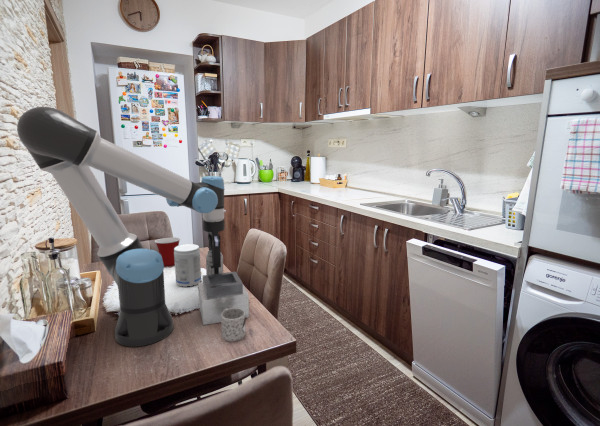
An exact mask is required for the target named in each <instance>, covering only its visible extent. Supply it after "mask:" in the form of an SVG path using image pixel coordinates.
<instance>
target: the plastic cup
mask: <svg viewBox="0 0 600 426" xmlns="http://www.w3.org/2000/svg"><path fill="white" fill-rule="evenodd" d="M180 241H181V238H180V237H163V238H158V239H155V240H154V243H155V245H156V247H157V250H158V253H160V255H161V256H162V260H163V265H164V267H173V266H175V260H174V248H175V247H177V246H179V243H180Z"/></svg>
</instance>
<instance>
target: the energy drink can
mask: <svg viewBox="0 0 600 426" xmlns="http://www.w3.org/2000/svg"><path fill="white" fill-rule="evenodd" d="M220 255H221V267H220V273H224V255H223V254H222V251H221V250H220ZM210 266H213V264H212V250H210V251H209V250H208V251H207V254H206V255H205V267H206V268H205V269H206V270H205V271H206V274H205V275H212V268H211V267H210Z"/></svg>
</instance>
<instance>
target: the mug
mask: <svg viewBox="0 0 600 426" xmlns="http://www.w3.org/2000/svg"><path fill="white" fill-rule="evenodd" d="M220 323H221V338H222V339H223V340H224V341H225V342H237V341H240V340H242V339H243V338H245V336H246V318H245V311H244V310H242V309H239V308H231V309H227V308H226V309H224V311H223V312H222V313H221V322H220Z"/></svg>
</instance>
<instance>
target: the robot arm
mask: <svg viewBox="0 0 600 426" xmlns="http://www.w3.org/2000/svg"><path fill="white" fill-rule="evenodd" d="M16 130H17V131H16V132H17V136H18V138H19V140H20V142H21V143H22V144H23V146H24V147H25V148H26V150H27V151H28V152H29V154H30V155H31V157H32V159H33V161H34V162H35V163H36V165H37V167H38V168H39V169H40V171H44V172H47V173H49V174H51V175H52V176H53V178H54V180H55V182H56V183H57V185H58V186H59V188H60V189H61V190H62V192H63V193H64V195H65V197H66V198H67V199H68V201H69V203H70V204H71V206H72V207H73V210H75V212H76V213H77V215H78V216H79V218H80V220H81V221H82V224H84V226H85V227H86V229H87V230H88V232H89V233H90V235H91V237H92V238H93V239H94V241H95V242H96V244H97V246H98V247H99V248H98V250H97V253H96V254H97V256H98V258H99V259H100V261H101V262H102V264H103V266H104V267H105V269H106V271H107V273H108V274H109V275H110V276H111V277H112V279H113V281H114V283H115V285H117V290H118V298H119V299H118V300H119V309H120V310H119V315H118V318H117V320H116V321H117V323H116V326H115V328H114V329H115V330H114V336H115V337H114V338H115V341H116V343H117V344H119V345H121V346H124V347H132V348H135V347H143V346H147V345H152V344H154V343H157V342H160V341H161V340H163V339H165V338H166V337H168V336H169V335H170V334H172V332H173V329H174V320H173V316H172V315H171V313H170V310H169V308H168V305H167V303H166V294H165V293H166V291H165V276H164V275H165V274H164V268H165V266H164V265H163V260H162V256H161V255H160V253H159V251H157V250H155V249H149V248H144V246H143V244H142V243H141V240H140V239H139V237H138V235H136V233H130V232H128V229H127V228H126V226H125V225H124V223H123V221H122V219H121V218H120V216H119V215H118V212H117V211H116V210H115V208H114V206H113V204H112V203H111V201H110V199H109V198H108V196H107V194H106V193H105V191H104V189H103V188H102V186H101V184H100V183H99V181H98V179H97V178H96V176H95V175H94V173H93V171H92V169H91V168H93V169H96V170H98V171H100V172H103V173H105V174H107V175H110V176H112V177H113V178H117V179H120V180H122V181H124V182H127V183H129V184H130V185H131V184H132V185H133V186H136V187H139V188H142V189H144V190H146V191H148V192H150V193H152V194H155V195H157V196H160V197H163V198H165V200H166V203H167V204H168V206H169V207H185V208H188V209H191V210H193V211H195V212H198V213H200V214H202V219H203V220H202V231H204V232H205V233H207V239H208V251H210V250H212V264H213V266H210V267H211V268H212V274H220V267H221V255H220V251H221V235H220V234H219V233H220V232H223V231H225V228H226V227H225V220H224V219H225V213H226V212H227V210H226V209H225V183H224V178H223V177H222V176H219V175H209V176H205V175H204V176H203V177H202V178H201V182H193V181H191V180H189V179H188V178H187V177H184V176H182V175H180V174H177V173H175V172H173V171H171V170H168V169H167V168H164V167H162V166H161V165H159V164H156V163H155V162H152V161H150V160H148V159H146V158H144V157H142V156H140V155H138V154H136V153H133V152H132V151H130V150H127V149H125V148H123V147H121V146H119V145H117V144H116V143H113V142H111V141H109V140H108V139H104V138H103V137H101V136H100V134H99V131H98V130H96V129H93V128H91V127H89V126H88V125H86V124H84V123H83V122H80V121H79V120H77V119H75V118H74V117H72V116H71V115H69V114H67V113H65V112H64V111H62V110H60V109H59V108H58V109H57V108H56V107H55V108H54V107H51V106H36V107H32V108H30V109H28V110H26V111H25V112H24V113H23V114H22V115H21V116H20V117H19V118H18V121H17V125H16Z"/></svg>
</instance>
